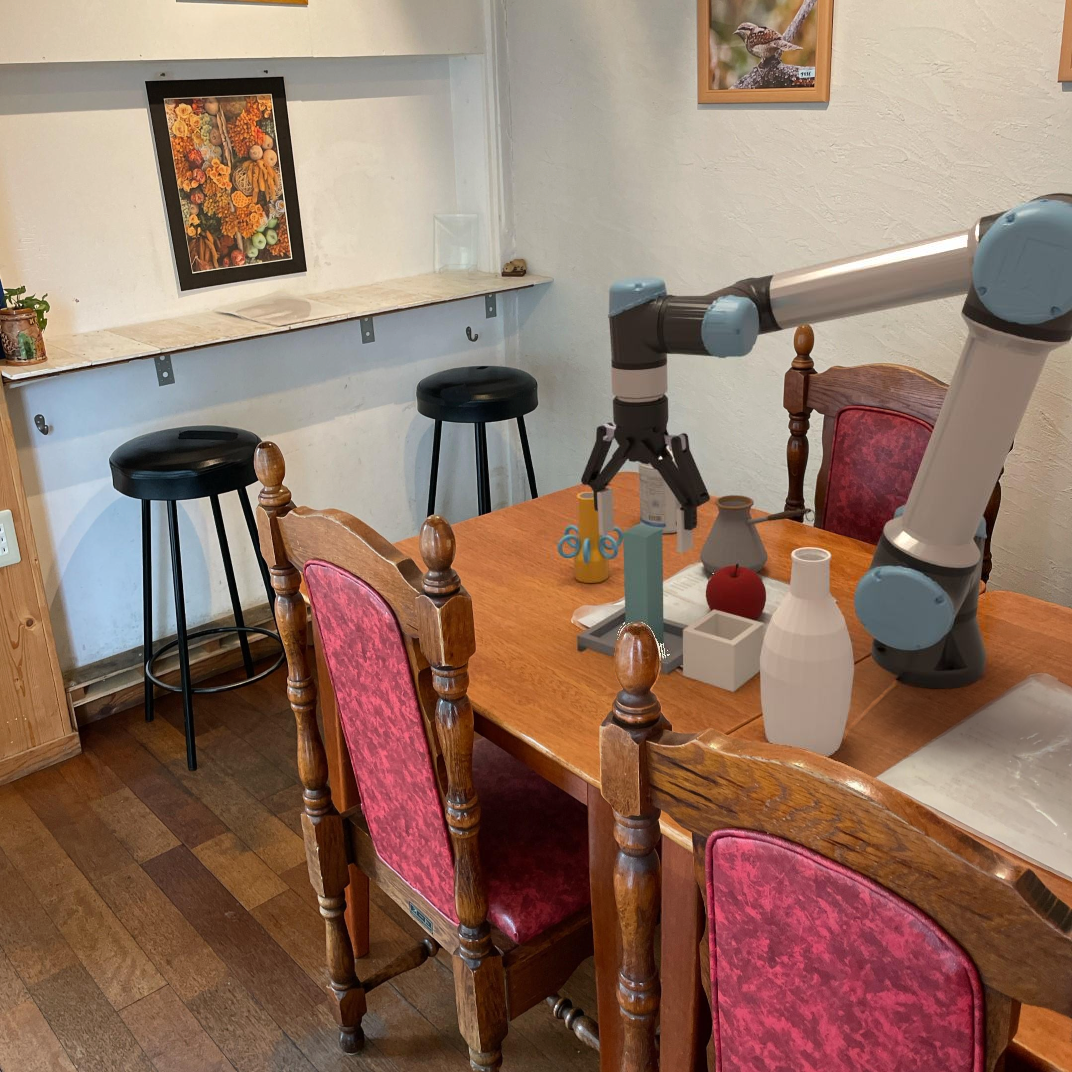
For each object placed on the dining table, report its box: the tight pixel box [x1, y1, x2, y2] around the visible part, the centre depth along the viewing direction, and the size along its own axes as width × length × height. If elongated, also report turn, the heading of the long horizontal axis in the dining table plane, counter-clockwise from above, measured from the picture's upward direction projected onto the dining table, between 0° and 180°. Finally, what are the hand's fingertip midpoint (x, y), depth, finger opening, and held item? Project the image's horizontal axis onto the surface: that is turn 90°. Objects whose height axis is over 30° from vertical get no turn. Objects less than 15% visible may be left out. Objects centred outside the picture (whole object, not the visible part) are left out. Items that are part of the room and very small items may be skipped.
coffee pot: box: [699, 494, 816, 574], centre depth 177 cm, size 21×12×15 cm, turn 41°
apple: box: [705, 564, 767, 621], centre depth 164 cm, size 9×9×10 cm
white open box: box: [682, 610, 765, 693], centre depth 147 cm, size 8×8×8 cm
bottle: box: [759, 546, 855, 758], centre depth 128 cm, size 11×11×25 cm
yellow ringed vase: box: [556, 491, 623, 584], centre depth 181 cm, size 12×10×15 cm
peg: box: [622, 522, 664, 644], centre depth 154 cm, size 4×4×18 cm
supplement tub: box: [637, 446, 681, 534], centre depth 203 cm, size 10×10×15 cm
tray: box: [576, 606, 689, 675], centre depth 158 cm, size 16×12×2 cm
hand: (644, 541), depth 152 cm, fingers open, 13 cm apart
